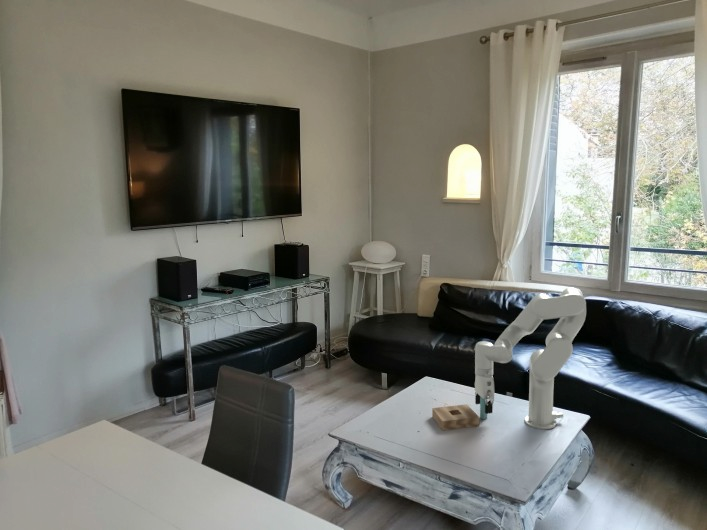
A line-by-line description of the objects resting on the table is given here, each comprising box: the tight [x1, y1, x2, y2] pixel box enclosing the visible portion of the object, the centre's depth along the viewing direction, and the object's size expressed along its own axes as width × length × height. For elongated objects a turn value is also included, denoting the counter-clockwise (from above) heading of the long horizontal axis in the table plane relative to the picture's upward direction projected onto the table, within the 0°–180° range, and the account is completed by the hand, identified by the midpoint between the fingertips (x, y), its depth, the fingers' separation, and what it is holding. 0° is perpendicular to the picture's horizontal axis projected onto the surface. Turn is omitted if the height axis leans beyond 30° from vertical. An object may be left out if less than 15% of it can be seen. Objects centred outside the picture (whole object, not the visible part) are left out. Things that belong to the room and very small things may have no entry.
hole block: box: [431, 403, 480, 431], centre depth 231 cm, size 16×13×4 cm
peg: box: [479, 396, 488, 420], centre depth 233 cm, size 3×3×10 cm
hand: (483, 408), depth 233 cm, fingers open, 9 cm apart
